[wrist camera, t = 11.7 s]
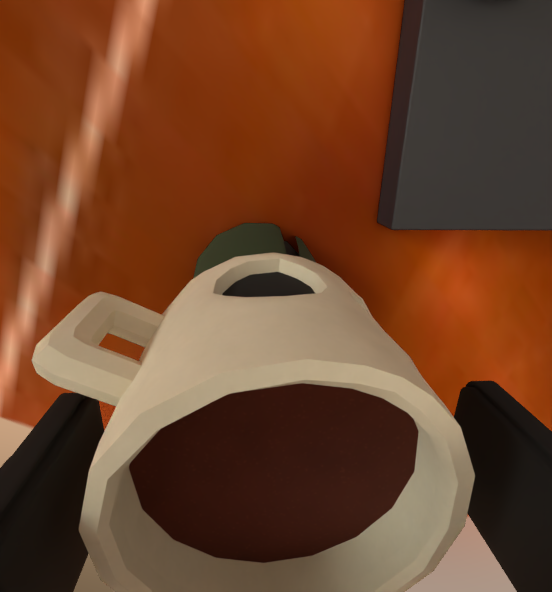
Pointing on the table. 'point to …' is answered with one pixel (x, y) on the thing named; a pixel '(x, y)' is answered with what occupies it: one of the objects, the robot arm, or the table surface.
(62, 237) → the table surface
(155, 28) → the table surface
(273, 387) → the character mug
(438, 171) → the scale
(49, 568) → the robot arm
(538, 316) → the table surface
